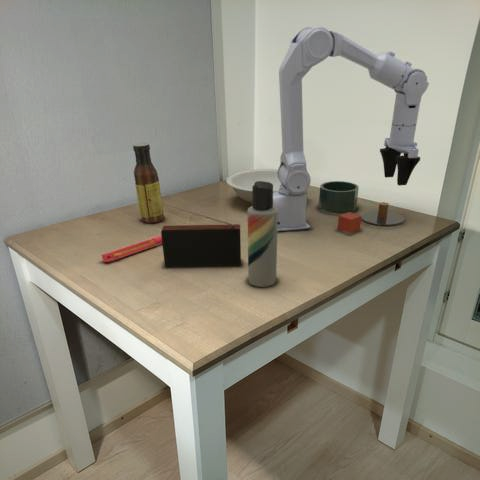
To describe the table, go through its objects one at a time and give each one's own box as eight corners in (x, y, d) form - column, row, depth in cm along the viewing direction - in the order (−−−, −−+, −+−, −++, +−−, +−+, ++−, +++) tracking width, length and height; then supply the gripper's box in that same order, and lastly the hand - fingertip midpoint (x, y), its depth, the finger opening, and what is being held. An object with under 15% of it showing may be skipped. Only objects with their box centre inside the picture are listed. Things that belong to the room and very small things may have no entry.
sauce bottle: (166, 216, 131) (158, 141, 120) (161, 224, 126) (152, 146, 115) (143, 216, 132) (133, 141, 121) (137, 223, 126) (126, 146, 116)
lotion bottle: (259, 272, 99) (259, 177, 89) (281, 279, 96) (284, 181, 86) (242, 282, 96) (240, 183, 85) (265, 290, 93) (265, 189, 82)
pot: (325, 216, 129) (327, 193, 125) (314, 204, 137) (315, 182, 134) (361, 213, 130) (364, 190, 126) (348, 202, 139) (350, 180, 135)
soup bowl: (215, 211, 134) (214, 188, 130) (240, 187, 153) (239, 166, 150) (299, 218, 128) (300, 193, 124) (313, 192, 147) (315, 171, 144)
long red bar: (100, 263, 107) (109, 263, 103) (97, 254, 106) (106, 253, 103) (183, 234, 121) (194, 233, 118) (181, 226, 120) (191, 225, 117)
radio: (240, 260, 105) (239, 193, 97) (240, 266, 102) (239, 198, 95) (157, 261, 105) (149, 195, 97) (155, 267, 103) (147, 199, 95)
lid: (369, 230, 119) (372, 212, 117) (353, 215, 128) (355, 198, 126) (411, 226, 120) (414, 208, 118) (392, 212, 130) (394, 195, 127)
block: (349, 235, 116) (351, 219, 114) (337, 230, 119) (338, 215, 117) (359, 231, 119) (361, 215, 116) (347, 226, 121) (349, 211, 119)
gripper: (434, 128, 108) (423, 187, 115) (405, 118, 120) (397, 172, 128) (405, 130, 107) (396, 189, 114) (379, 120, 119) (372, 174, 127)
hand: (395, 180), depth 121 cm, fingers open, 7 cm apart
